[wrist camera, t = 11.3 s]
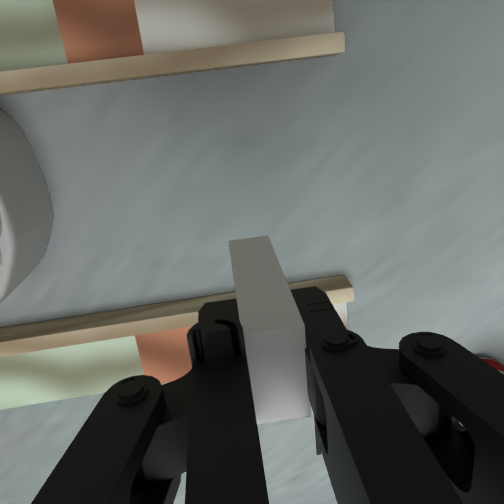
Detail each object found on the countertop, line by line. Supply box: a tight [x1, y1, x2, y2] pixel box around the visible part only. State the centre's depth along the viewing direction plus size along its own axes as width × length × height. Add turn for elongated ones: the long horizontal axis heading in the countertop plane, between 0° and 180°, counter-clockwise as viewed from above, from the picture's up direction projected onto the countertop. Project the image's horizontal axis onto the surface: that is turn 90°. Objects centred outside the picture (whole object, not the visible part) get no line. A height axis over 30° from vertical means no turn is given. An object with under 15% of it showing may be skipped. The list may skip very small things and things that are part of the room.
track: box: [0, 0, 354, 410], centre depth 30 cm, size 32×38×5 cm
